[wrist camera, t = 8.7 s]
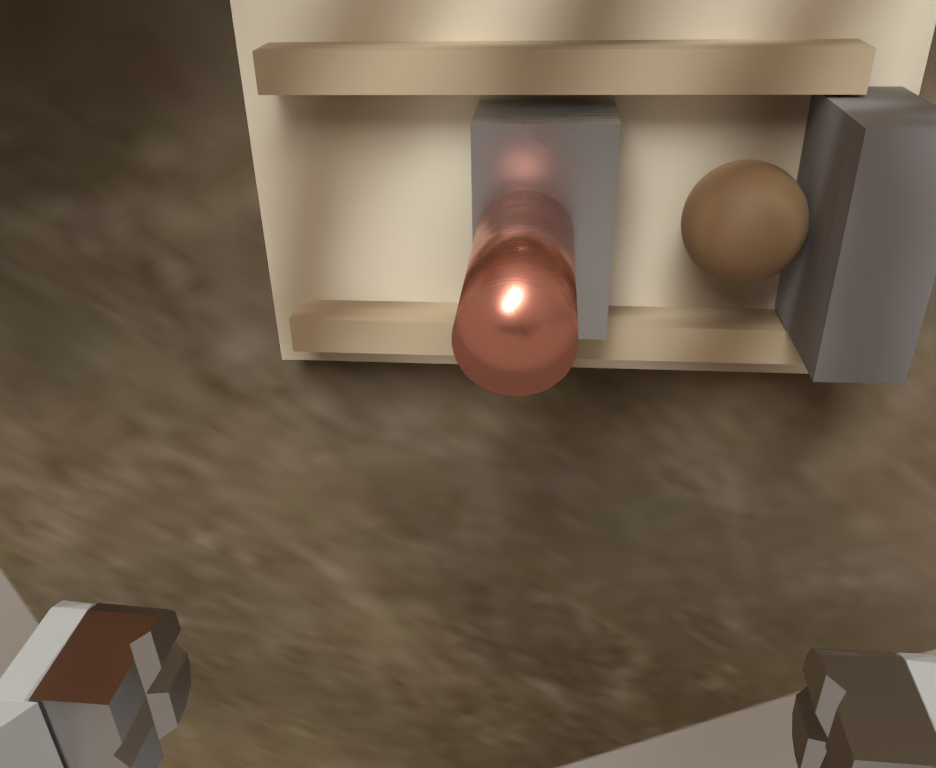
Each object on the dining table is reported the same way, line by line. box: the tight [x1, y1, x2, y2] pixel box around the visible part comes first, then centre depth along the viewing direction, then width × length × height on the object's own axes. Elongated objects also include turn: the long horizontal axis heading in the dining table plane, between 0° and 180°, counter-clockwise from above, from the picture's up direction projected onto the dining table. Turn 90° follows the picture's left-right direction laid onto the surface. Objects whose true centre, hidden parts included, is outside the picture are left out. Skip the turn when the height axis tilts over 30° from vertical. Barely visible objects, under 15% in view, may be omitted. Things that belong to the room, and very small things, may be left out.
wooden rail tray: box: [230, 0, 936, 384], centre depth 26 cm, size 20×12×6 cm, turn 91°
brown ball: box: [681, 159, 810, 284], centre depth 25 cm, size 4×4×4 cm
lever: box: [451, 100, 621, 397], centre depth 23 cm, size 4×6×10 cm, turn 1°
